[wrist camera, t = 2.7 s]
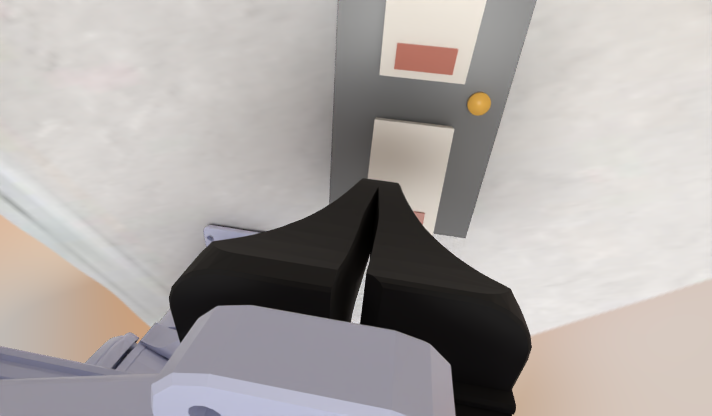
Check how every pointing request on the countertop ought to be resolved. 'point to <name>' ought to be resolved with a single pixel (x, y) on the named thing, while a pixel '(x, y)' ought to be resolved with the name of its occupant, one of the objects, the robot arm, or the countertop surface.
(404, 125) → the rocker
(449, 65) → the rocker
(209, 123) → the countertop surface
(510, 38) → the double switch panel
